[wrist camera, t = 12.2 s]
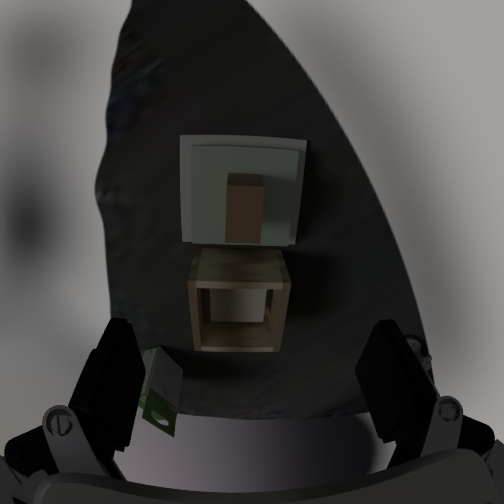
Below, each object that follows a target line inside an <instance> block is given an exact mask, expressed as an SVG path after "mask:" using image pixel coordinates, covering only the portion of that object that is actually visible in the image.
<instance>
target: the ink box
mask: <svg viewBox="0 0 504 504" xmlns="http://www.w3.org/2000/svg"><path fill="white" fill-rule="evenodd" d="M141 357H142V360H143V363H144V366H145V369H146V375H145V379H144V383H143V387H142V391H141V395H140V399H139V403H138V406H139V407H141V408H142V409H143V414H142V418H143V419H145V420H146V421H148V422H150V423H151V424H153V425H154V426H156V427H157V428H159V429H160V430H162V431H164V432H165V433H167V434H169V435H171V436H172V437H174V432H175V422H176V417H177V409H178V402H179V395H180V388H181V381H182V375H183V369H182V368H181V367H180V366H179V365H178V364H177V363H176V362H175V361H174V360H173V359H172V358H171V357H170V356H169V355H168V354H167V353H166V352H165V351H164V350H163V349H162V348H161V347H160V346H157V347H154V348H151V349H146V350H143V352H142V355H141ZM154 418H156V419H157V420H167V421H168V423H169V425H168V426H166V425H162V424H160V423H158V422H157V421H156V420H155V419H154Z"/></svg>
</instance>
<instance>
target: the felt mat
mask: <svg viewBox="0 0 504 504" xmlns="http://www.w3.org/2000/svg"><path fill="white" fill-rule="evenodd" d="M192 145H238V146H258V147H273V148H285V149H296V150H298V151H299V155H298V165H297V175H296V184H295V193H294V201H293V210H292V218H291V226H290V234H289V242H288V244H295V240H296V233H297V225H298V217H299V209H300V201H301V193H302V184H303V175H304V165H305V156H306V145H307V140H300V139H289V138H278V137H264V136H245V135H180V193H181V221H182V240H183V242H192V217H191V146H192Z"/></svg>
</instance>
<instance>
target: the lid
mask: <svg viewBox="0 0 504 504" xmlns="http://www.w3.org/2000/svg"><path fill="white" fill-rule="evenodd" d="M298 155H299V151H298V150H296V149H285V148H273V147H258V146H238V145H192V146H191V217H192V243H199V244H234V245H267V246H288V242H289V234H290V226H291V218H292V210H293V201H294V193H295V184H296V175H297V165H298Z"/></svg>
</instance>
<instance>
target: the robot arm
mask: <svg viewBox="0 0 504 504" xmlns="http://www.w3.org/2000/svg"><path fill="white" fill-rule="evenodd" d="M420 350H421V345H420V343H419V341H418V340H417V339H416V338H414V337H409V336H406V337H404V335H403V334H402V332H401V330H400V329H399V327H398V326H397V324H396V322H395V321H394V320H392V319H389V320H380V321H379V322H378V323H377V324H376V325H375V326H374V327H373V330H372V332H371V334H370V337H369V339H368V341H367V344H366V346H365V348H364V350H363V352H362V355H361V357H360V359H359V361H358V363H357V365H356V368H355V374H356V377H357V379H358V382H359V385H360V387H361V390H362V393H363V395H364V398H365V401H366V403H367V406H368V409H369V412H370V414H371V417H372V420H373V423H374V426H375V429H376V432H377V435H378V437H379V438H381V439H382V440H383V443H388V442H392V441H395V442H396V445H397V446H396V448H395V451H394V453H393V455H392V457H391V460H390V462H389V464H388V467H387V469H385V470H382V471H379V472H376V473H372V474H369V475H365V476H361V477H357V478H353V479H349V480H345V481H340V482H336V483H331V484H325V485H320V486H314V487H308V488H300V489H292V490H283V491H271V492H252V493H219V492H200V491H188V490H179V489H171V488H163V487H157V486H151V485H145V484H139V483H134V482H130V481H127V480H126V479H125V477H124V475H123V474H122V472H121V471H120V469H119V468H118V466H117V464H116V463H115V461H114V459H113V457H114V452H115V450H117V451H121V452H124V449H125V446H126V447H127V446H129V444H130V440H131V435H132V430H133V425H134V421H135V416H136V411H137V408H138V403H139V399H140V395H141V391H142V387H143V383H144V379H145V375H146V369H145V366H144V363H143V360H142V357H141V353H140V350H139V347H138V344H137V341H136V337H135V334H134V331H133V327H132V324H131V323H128V321H127V320H126V319H121V318H111V319H110V321H109V323H108V325H107V327H106V329H105V331H104V333H103V335H102V337H101V339H100V341H99V343H98V346H97V348H96V349H93V350H92V351H91V353H90V355H89V357H88V359H87V361H86V364H85V366H84V368H83V371H82V373H81V375H80V377H79V380H78V382H77V385H76V387H75V389H74V392H73V394H72V397H71V399H70V402H69V404H68V407H66V406H64V405H57V406H53V407H51V408H49V409H48V410H47V411H46V412H45V414H44V417H43V421H42V425H41V426H39V427H37V428H35V429H32V430H30V431H28V432H26V433H23V434H21V435H19V436H17V437H14V438H12V439H11V440H9V441H8V442H7V444H6V446H5V449H4V455H5V456H4V457H2V456H1V455H0V504H504V444H503V443H502V442H500V441H499V440H498V439H497V440H496V441H495V436H494V432H493V430H492V429H491V428H490V426H488V425H486V424H484V423H482V422H479V421H477V420H474V419H472V418H470V417H467V416H465V415H463V409H462V406H461V404H460V403H459V401H458V400H456V399H455V398H453V397H451V396H443V397H440V395H439V393H438V391H437V389H436V387H435V385H434V383H433V382H432V380H431V378H430V376H429V374H428V373H427V371H426V370H429V369H430V368H431V362H430V361H431V360H432V357H431V355H428V356H425V357H423V356H422V355H421V353H420Z"/></svg>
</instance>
